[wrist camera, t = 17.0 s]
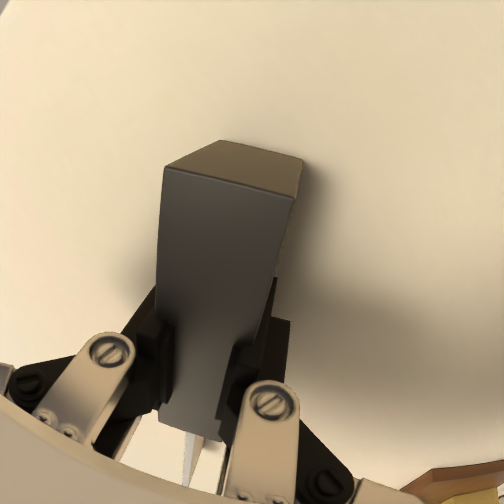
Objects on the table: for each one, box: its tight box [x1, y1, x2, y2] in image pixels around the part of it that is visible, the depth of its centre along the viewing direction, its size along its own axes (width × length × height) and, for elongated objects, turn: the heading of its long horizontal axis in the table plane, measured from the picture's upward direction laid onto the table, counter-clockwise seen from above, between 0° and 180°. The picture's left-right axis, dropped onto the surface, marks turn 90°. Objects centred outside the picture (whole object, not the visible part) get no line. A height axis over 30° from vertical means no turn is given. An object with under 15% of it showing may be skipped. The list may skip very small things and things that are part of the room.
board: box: [399, 460, 504, 504], centre depth 18 cm, size 14×14×1 cm
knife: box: [155, 140, 303, 487], centre depth 11 cm, size 18×2×4 cm, turn 168°
